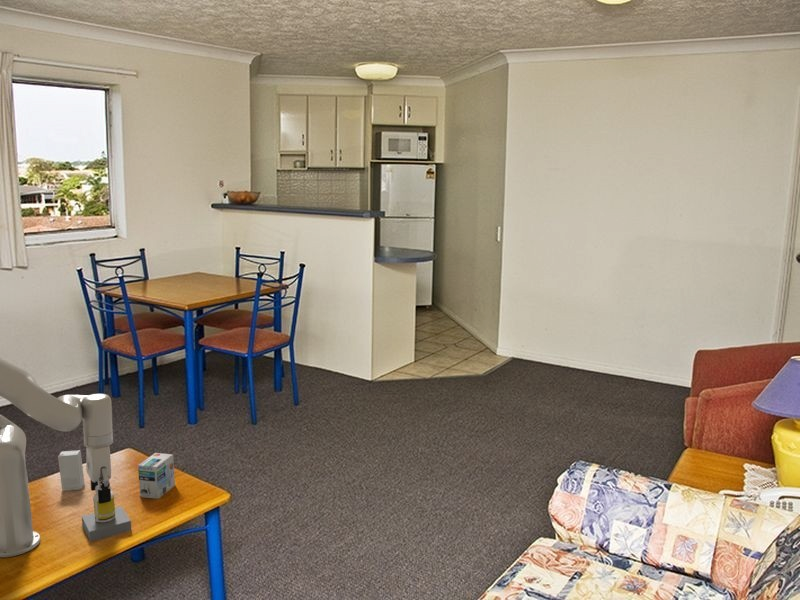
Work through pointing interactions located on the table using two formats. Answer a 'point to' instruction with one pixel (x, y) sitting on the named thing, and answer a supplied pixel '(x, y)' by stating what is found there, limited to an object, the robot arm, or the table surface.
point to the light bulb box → (156, 475)
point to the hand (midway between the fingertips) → (100, 495)
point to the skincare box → (71, 470)
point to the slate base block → (106, 525)
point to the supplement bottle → (103, 508)
